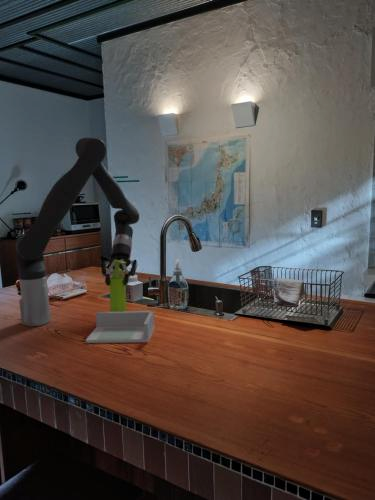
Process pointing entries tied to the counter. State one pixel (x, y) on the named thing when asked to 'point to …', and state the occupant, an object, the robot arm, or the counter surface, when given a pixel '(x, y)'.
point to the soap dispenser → (117, 289)
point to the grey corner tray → (122, 327)
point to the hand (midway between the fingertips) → (116, 284)
